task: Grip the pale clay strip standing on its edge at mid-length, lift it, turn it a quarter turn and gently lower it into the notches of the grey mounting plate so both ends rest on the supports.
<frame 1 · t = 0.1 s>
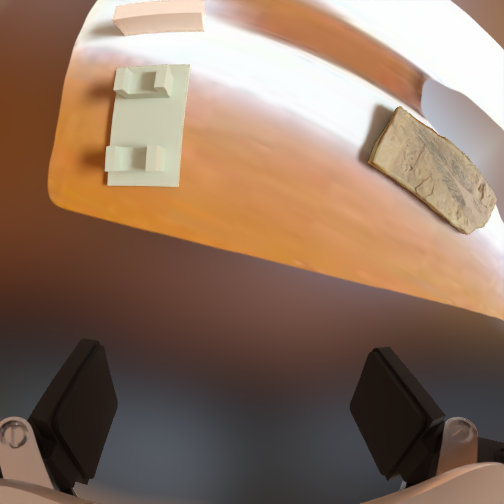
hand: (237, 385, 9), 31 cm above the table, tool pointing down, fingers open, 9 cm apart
grey mounting plate: (148, 124, 34), on the table
stone slab: (439, 178, 40), on the table
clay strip: (164, 26, 30), on the table
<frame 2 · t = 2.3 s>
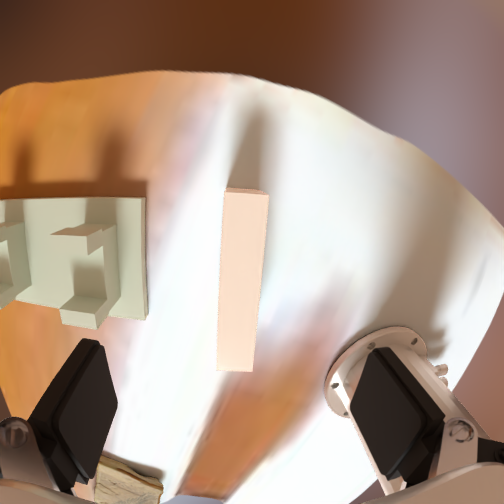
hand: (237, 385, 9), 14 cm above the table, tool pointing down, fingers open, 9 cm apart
grey mounting plate: (61, 253, 21), on the table
stone slab: (127, 493, 34), on the table
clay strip: (237, 264, 23), on the table
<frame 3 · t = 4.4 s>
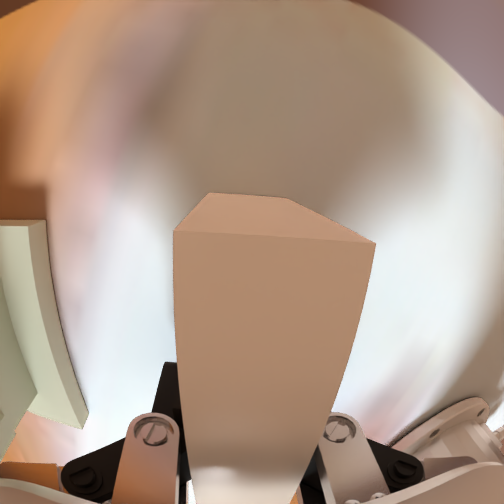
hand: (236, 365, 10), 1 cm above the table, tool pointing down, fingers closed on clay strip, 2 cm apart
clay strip: (236, 353, 11), on the table, touching gripper
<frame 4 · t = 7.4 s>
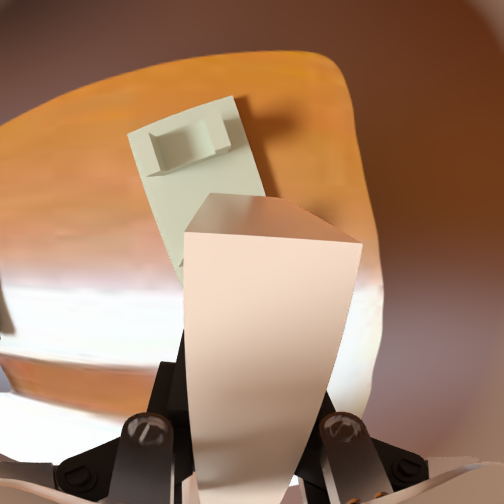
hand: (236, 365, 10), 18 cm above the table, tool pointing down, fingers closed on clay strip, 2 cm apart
grey mounting plate: (208, 200, 26), on the table
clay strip: (235, 346, 11), point 17 cm above the table, touching gripper
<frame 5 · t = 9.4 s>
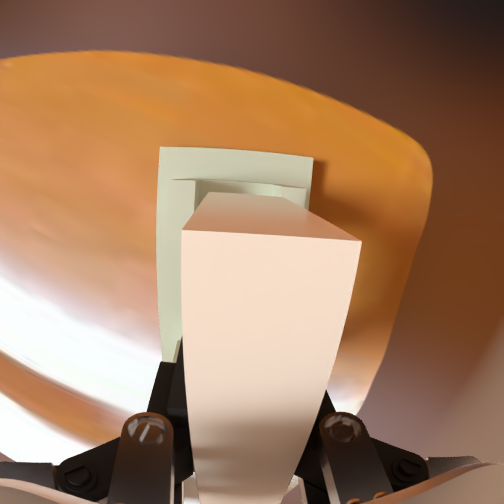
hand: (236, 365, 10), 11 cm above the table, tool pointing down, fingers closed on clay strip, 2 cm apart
grey mounting plate: (228, 271, 21), on the table
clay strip: (235, 346, 11), point 10 cm above the table, touching gripper
when the fingers open (6 cm above the table, at t = 10.8 s): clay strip stays where it is, resting on grey mounting plate.
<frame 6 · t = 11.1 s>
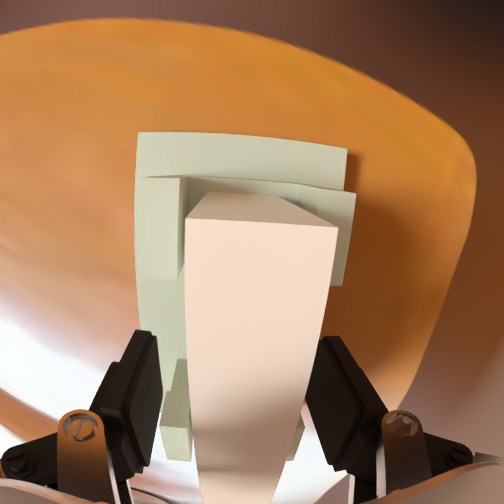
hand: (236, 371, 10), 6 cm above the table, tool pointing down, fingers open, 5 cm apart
grey mounting plate: (231, 298, 16), on the table
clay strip: (233, 337, 12), point 4 cm above the table, touching grey mounting plate
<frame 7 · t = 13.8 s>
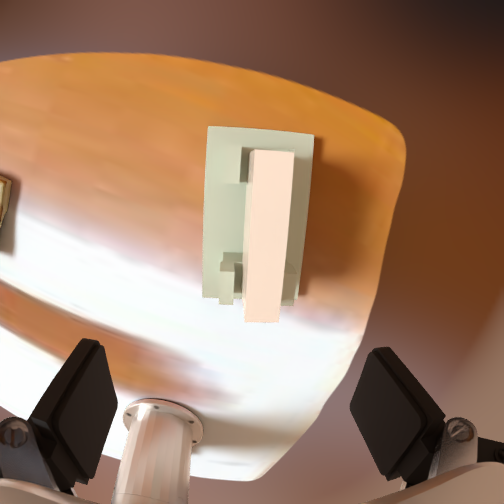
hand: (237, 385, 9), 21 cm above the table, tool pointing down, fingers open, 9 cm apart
grey mounting plate: (255, 215, 28), on the table
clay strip: (258, 224, 25), point 4 cm above the table, touching grey mounting plate
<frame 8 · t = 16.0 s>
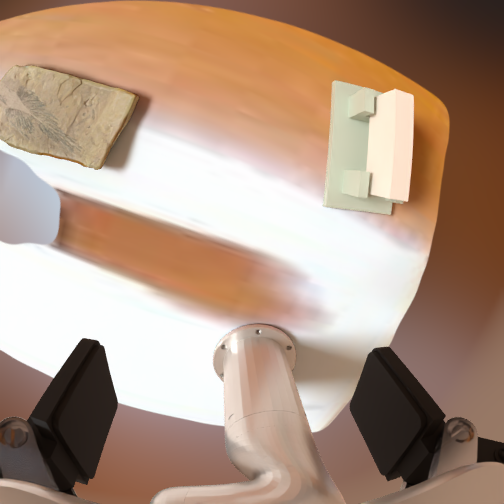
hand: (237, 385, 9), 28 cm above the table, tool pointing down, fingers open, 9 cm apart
grey mounting plate: (362, 148, 35), on the table
stone slab: (46, 111, 29), on the table
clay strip: (376, 146, 31), point 4 cm above the table, touching grey mounting plate
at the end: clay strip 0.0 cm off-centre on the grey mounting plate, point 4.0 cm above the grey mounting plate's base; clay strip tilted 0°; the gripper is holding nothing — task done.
